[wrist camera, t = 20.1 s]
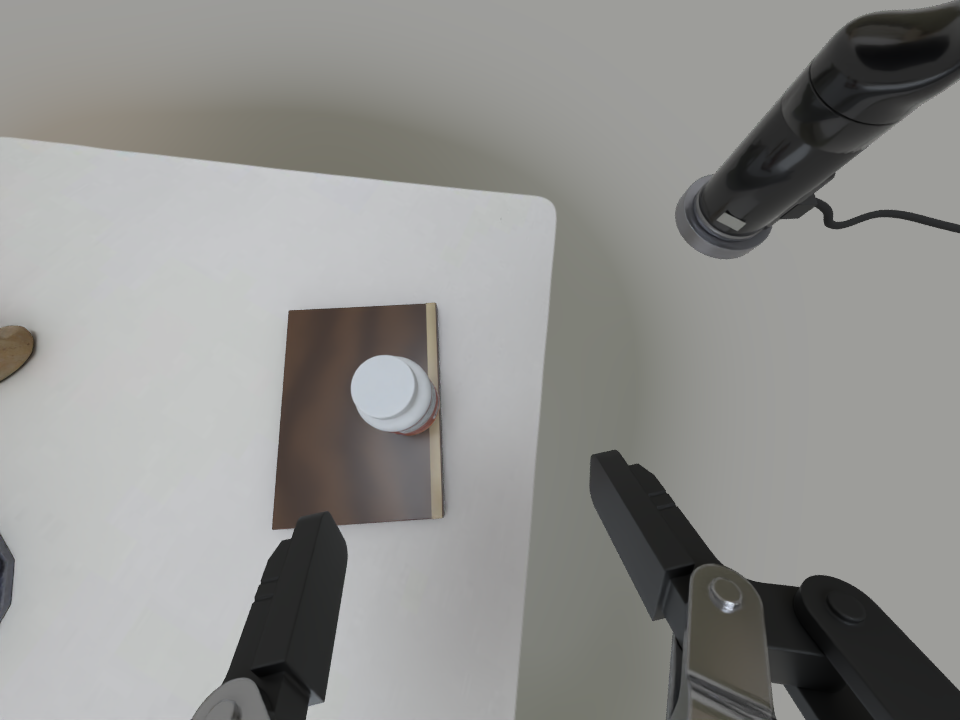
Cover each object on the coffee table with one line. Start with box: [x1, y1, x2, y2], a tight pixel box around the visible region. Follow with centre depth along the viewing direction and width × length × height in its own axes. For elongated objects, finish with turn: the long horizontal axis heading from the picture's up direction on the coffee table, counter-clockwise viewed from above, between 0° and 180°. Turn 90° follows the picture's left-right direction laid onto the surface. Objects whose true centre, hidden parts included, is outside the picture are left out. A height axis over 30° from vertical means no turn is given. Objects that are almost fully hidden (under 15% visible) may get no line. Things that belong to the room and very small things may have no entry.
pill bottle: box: [351, 355, 440, 436], centre depth 31 cm, size 6×6×11 cm
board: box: [272, 303, 445, 530], centre depth 37 cm, size 16×22×2 cm
